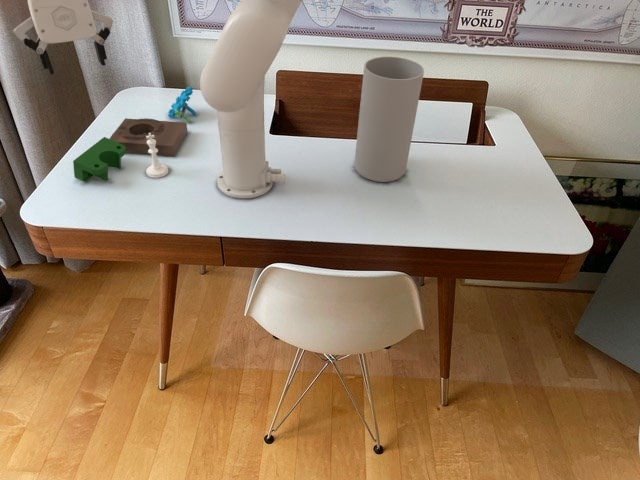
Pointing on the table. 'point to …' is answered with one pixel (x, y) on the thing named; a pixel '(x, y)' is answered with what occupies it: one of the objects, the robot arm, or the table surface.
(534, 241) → the table surface
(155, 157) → the chess piece
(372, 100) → the cylinder vase
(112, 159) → the clamp
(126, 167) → the table surface
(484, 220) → the table surface
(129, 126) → the pad
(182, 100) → the blue slotted cogwheel
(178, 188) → the table surface
